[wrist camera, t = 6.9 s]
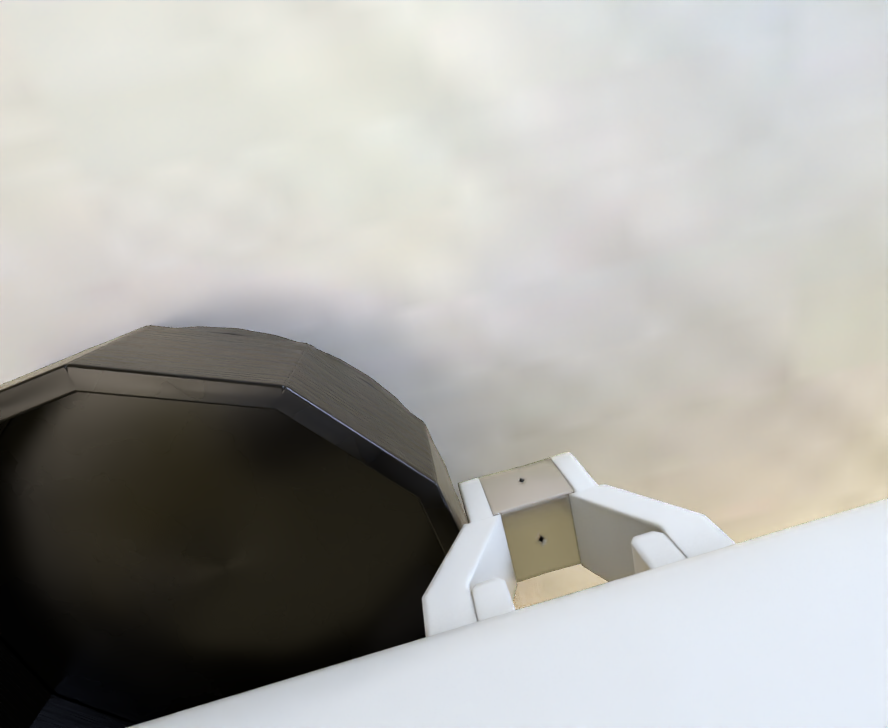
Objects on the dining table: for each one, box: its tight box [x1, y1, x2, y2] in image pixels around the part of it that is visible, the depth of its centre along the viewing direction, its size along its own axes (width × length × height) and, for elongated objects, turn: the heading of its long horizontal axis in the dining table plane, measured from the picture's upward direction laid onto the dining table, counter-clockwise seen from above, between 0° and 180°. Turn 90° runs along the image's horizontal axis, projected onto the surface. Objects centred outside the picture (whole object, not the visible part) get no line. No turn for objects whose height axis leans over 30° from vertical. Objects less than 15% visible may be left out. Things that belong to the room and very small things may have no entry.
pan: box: [0, 325, 468, 728], centre depth 13 cm, size 21×13×4 cm, turn 21°
